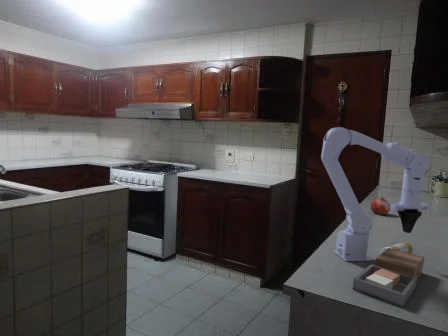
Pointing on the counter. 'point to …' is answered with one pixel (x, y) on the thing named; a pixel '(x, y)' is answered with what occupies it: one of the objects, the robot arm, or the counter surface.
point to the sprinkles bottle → (400, 248)
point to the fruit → (380, 206)
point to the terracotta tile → (389, 276)
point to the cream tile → (380, 281)
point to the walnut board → (401, 262)
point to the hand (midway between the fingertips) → (406, 232)
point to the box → (393, 296)
